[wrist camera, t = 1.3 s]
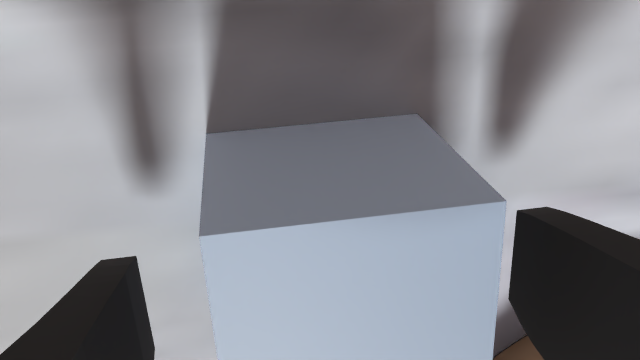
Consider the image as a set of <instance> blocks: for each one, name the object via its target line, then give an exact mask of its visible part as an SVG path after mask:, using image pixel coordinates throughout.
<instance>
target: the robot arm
mask: <svg viewBox="0 0 640 360" xmlns="http://www.w3.org/2000/svg"><path fill="white" fill-rule="evenodd" d="M509 301H510V303H511V305H512V307H513V309H514V311H515V313H516V315H517V317H518V319H519V321H520V323H521V324H522V326H523V328H524V330H525V332H526V333H527V335H528V337H529V339H530V341H531V342H532V344H533V345H534V346H535V348H536V349H537V351H538V352H539V354H540V355H541V356H542V358H543V359H544V360H640V239H637V238H634V237H632V236H629V235H626V234H624V233H621V232H619V231H616V230H613V229H611V228H608V227H605V226H603V225H600V224H598V223H595V222H592V221H590V220H587V219H584V218H581V217H579V216H576V215H573V214H570V213H567V212H564V211H561V210H557V209H553V208H549V207H542V208H533V209H525V210H517V216H516V226H515V236H514V247H513V257H512V267H511V278H510V288H509ZM154 351H155V347H154V342H153V337H152V332H151V327H150V322H149V317H148V312H147V307H146V302H145V297H144V292H143V288H142V283H141V278H140V273H139V268H138V263H137V258H136V256H132V257H124V258H115V259H107V260H101V261H100V262H99V263H97V264H96V265H95V266H94V267H93V268H92V269H91V270H90V271H89V272H88V273H87V274H86V275H85V276H84V277H83V278H82V279H81V280H80V281H79V282H78V283H77V284H76V285H75V286H74V287H73V288H72V289H71V290H70V291H69V292H68V293H67V294H66V295H65V296H64V297H63V298H62V299H61V300H60V301H59V302H58V303H56V304H55V305H54V306H53V307H52V308H51V309H50V310H49V311H48V312H47V313H46V314H45V315H44V316H43V317H42V318H41V319H40V320H39V321H38V322H37V323H36V324H35V325H34V326H32V327H31V328H30V329H29V330H28V331H27V332H26V333H24V334H23V335H22V336H21V337H20V338H19V339H18V340H16V341H15V342H14V343H13V344H12V345H11V346H10V347H8V348H7V349H6V350H5V351H4V352H3V353H2V354H0V360H154Z"/></svg>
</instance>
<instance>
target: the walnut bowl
mask: <svg viewBox="0 0 640 360" xmlns="http://www.w3.org/2000/svg"><path fill="white" fill-rule="evenodd" d="M493 360H544V359H543V358H542V356H541V355H540V354H539V352H538V351H537V349H536V348H535V346H534V345H533V344H532V342H531V341H530V339H529V337H528V336H526V337H524V338H522V339H521V340H519V341H518V342H516V343H515V344H513V345H512V346H510V347H509V348H507V349H506V350H504V351H503V352H501V353H500V354H499V355H498V356H496V357H495V358H494V359H493Z"/></svg>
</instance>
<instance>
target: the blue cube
mask: <svg viewBox="0 0 640 360" xmlns="http://www.w3.org/2000/svg"><path fill="white" fill-rule="evenodd" d="M506 202H507V201H506V200H505V199H504V198H503V197H502V196H501V195H500V194H499V193H498V192H497V191H496V190H495V189H494V188H493V187H492V186H491V185H490V184H488V183H487V182H486V181H485V180H484V179H483V178H482V177H481V176H480V175H479V174H478V173H477V172H476V171H475V170H474V169H473V168H472V167H471V166H470V165H469V164H468V163H467V162H466V161H465V160H464V159H463V158H462V157H461V156H460V155H459V154H458V153H457V152H456V151H455V150H454V149H453V148H452V147H451V146H450V145H449V144H447V143H446V142H445V141H444V140H443V139H442V138H441V137H440V136H439V135H438V134H437V133H436V132H435V131H434V130H433V129H432V128H431V127H430V126H429V125H428V124H427V123H426V122H425V121H424V120H423V119H422V118H421V117H420V116H419V115H418V114H408V115H398V116H387V117H377V118H366V119H356V120H345V121H335V122H324V123H314V124H303V125H293V126H282V127H272V128H261V129H251V130H240V131H230V132H219V133H209V134H206V143H205V158H204V173H203V187H202V202H201V216H200V231H199V239H200V246H201V253H202V259H203V266H204V273H205V279H206V286H207V293H208V299H209V306H210V313H211V319H212V326H213V333H214V339H215V346H216V353H217V359H218V360H493V349H494V338H495V327H496V315H497V304H498V293H499V281H500V270H501V258H502V247H503V236H504V224H505V213H506Z"/></svg>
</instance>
